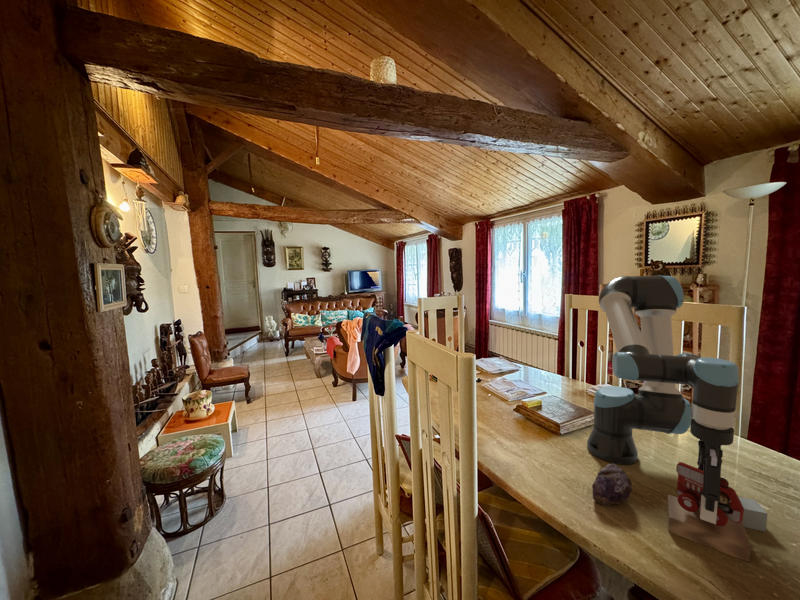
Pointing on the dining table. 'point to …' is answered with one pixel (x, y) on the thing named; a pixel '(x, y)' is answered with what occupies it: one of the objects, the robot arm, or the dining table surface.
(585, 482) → the dining table surface
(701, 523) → the pedestal
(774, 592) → the dining table surface
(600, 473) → the rock
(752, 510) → the grey cube
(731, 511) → the toy fire truck
